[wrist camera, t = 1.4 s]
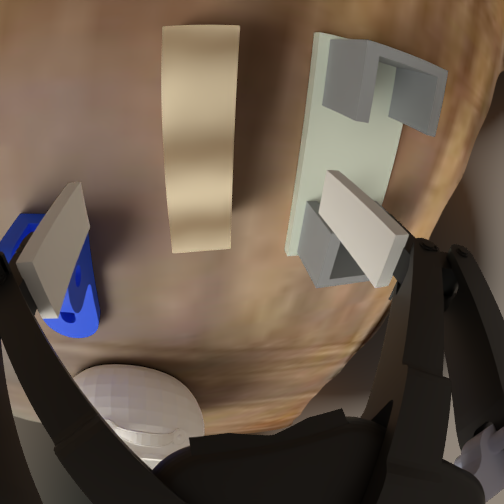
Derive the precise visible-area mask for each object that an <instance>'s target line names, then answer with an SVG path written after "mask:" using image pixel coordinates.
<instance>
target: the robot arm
mask: <svg viewBox="0 0 504 504" xmlns="http://www.w3.org/2000/svg"><path fill="white" fill-rule="evenodd" d="M318 213H319V214H320V216H321V217H322V218H323V219H324V221H325V222H326V223H327V224H328V226H329V227H330V228H331V230H332V231H333V232H334V233H335V235H336V236H337V237H338V239H339V240H340V241H341V242H342V244H343V245H344V246H345V248H346V249H347V250H348V252H349V253H350V254H351V256H352V257H353V258H354V260H355V261H356V262H357V264H358V265H359V267H360V268H361V269H362V271H363V272H364V273H365V275H366V276H367V278H368V279H369V280H370V282H371V283H372V285H373V286H374V287H375V288H379V287H384V286H388V285H389V283H390V281H391V278H392V276H393V275H394V277H395V278H396V279H397V282H396V285H395V287H394V289H393V291H392V293H391V295H390V297H389V299H388V300H391V299H392V304H391V309H390V314H389V320H388V325H387V330H386V334H385V339H384V343H383V347H382V352H381V356H380V360H379V364H378V368H377V371H376V375H375V379H374V383H373V386H372V389H371V393H370V396H369V400H368V403H367V406H366V408H365V411H364V413H363V414H362V416H361V418H358V417H345V414H344V412H343V410H342V408H341V409H338V410H335V411H331V412H328V413H324V414H320V415H317V416H313V417H309V418H307V419H305V420H303V421H301V422H299V423H297V424H295V425H294V426H291V427H290V428H287V429H285V430H283V431H281V432H279V433H277V434H275V435H269V436H268V435H266V436H265V435H247V434H234V433H225V434H218V435H209V436H199V437H189V443H190V446H187V447H184V448H182V449H179V450H177V451H175V452H173V453H172V454H170V455H168V456H167V457H165V458H164V459H163V460H162V461H160V462H159V463H158V464H157V465H156V466H155V467H154V468H153V470H152V469H151V468H150V467H149V466H148V465H147V464H146V463H144V462H143V461H142V460H141V459H140V458H139V457H138V456H137V455H136V454H135V453H134V452H133V451H132V450H131V449H130V448H129V447H128V446H127V445H126V443H125V442H124V441H123V440H122V439H121V438H120V437H119V436H118V435H117V434H116V432H115V431H114V430H113V429H112V428H111V427H110V426H109V424H108V423H107V422H106V421H105V420H104V419H103V417H102V416H101V415H100V414H99V412H98V411H97V410H96V409H95V408H94V406H93V405H92V404H91V402H90V401H89V400H88V399H87V397H86V396H85V395H84V393H83V392H82V391H81V389H80V388H79V386H78V385H77V384H76V382H75V381H74V379H73V378H72V377H71V375H70V374H69V372H68V371H67V369H66V368H65V366H64V365H63V363H62V362H61V360H60V359H59V357H58V356H57V354H56V352H55V351H54V349H53V348H52V346H51V344H50V343H49V341H48V339H47V338H46V336H45V334H44V332H43V331H42V329H41V327H40V325H39V324H38V322H37V320H36V318H35V316H34V315H35V312H36V310H37V309H38V311H39V313H40V315H41V317H42V318H43V319H53V318H58V317H59V314H60V310H61V307H62V304H63V300H64V297H65V294H66V291H67V288H68V285H69V282H70V279H71V276H72V273H73V270H74V268H75V265H76V262H77V259H78V257H79V254H80V251H81V249H82V246H83V244H84V241H85V239H86V236H87V234H88V232H89V229H90V224H89V220H88V215H87V211H86V206H85V201H84V196H83V191H82V186H81V181H79V182H72V183H68V184H67V185H66V186H65V188H64V189H63V190H62V192H61V193H60V194H59V196H58V197H57V199H56V200H55V201H54V203H53V204H52V206H51V207H50V208H49V210H48V211H47V213H46V214H45V216H44V217H43V219H42V220H41V222H40V223H39V225H38V226H37V228H36V230H35V231H34V232H30V233H29V234H28V235H27V236H26V237H25V238H24V239H23V240H22V242H21V244H20V245H19V248H17V250H16V252H15V254H14V255H13V257H12V259H11V260H10V262H9V264H8V262H7V259H6V257H5V255H4V253H3V252H1V251H0V504H43V503H42V501H41V498H40V495H39V493H38V491H37V488H36V486H35V484H34V481H33V478H32V476H31V473H30V471H29V468H28V465H27V462H26V459H25V456H24V453H23V450H22V447H21V444H20V441H19V437H18V434H17V430H16V426H15V422H14V418H13V414H12V410H11V405H10V400H9V395H8V390H7V385H6V379H5V372H4V365H3V357H2V348H1V339H2V341H3V344H4V347H5V349H6V352H7V354H8V356H9V359H10V361H11V364H12V366H13V368H14V370H15V373H16V375H17V377H18V379H19V381H20V383H21V385H22V387H23V389H24V391H25V393H26V395H27V397H28V399H29V401H30V403H31V405H32V407H33V408H34V410H35V412H36V414H37V416H38V417H39V419H40V421H41V422H42V424H43V425H44V427H45V429H46V431H47V432H48V434H49V435H50V437H51V439H52V440H53V442H54V444H55V447H54V451H55V454H56V455H57V457H58V459H59V460H60V462H61V463H62V465H63V466H64V468H65V469H66V470H67V472H68V473H69V474H70V476H71V477H72V478H73V480H74V481H75V482H76V484H77V485H78V486H79V487H80V489H81V490H82V491H83V492H84V494H85V495H86V496H87V497H88V498H89V500H90V501H91V502H92V503H93V504H485V503H486V502H487V501H488V500H490V499H491V498H492V497H494V496H495V495H496V494H498V493H499V492H500V491H501V490H502V489H504V320H503V317H502V315H501V313H500V310H499V308H498V305H497V303H496V301H495V299H494V297H493V295H492V292H491V290H490V288H489V286H488V284H487V282H486V280H485V278H484V276H483V274H482V272H481V270H480V268H479V266H478V264H477V262H476V261H475V259H474V257H473V255H472V254H471V253H470V251H468V250H467V248H465V247H464V246H460V245H457V244H453V245H451V247H450V250H449V252H448V253H446V252H440V251H439V248H438V247H437V246H436V245H435V244H434V243H433V242H431V241H429V240H427V239H424V238H415V237H414V236H413V235H412V234H411V233H410V232H409V231H408V230H407V229H406V228H405V227H404V226H402V224H401V223H400V222H398V221H397V220H396V219H395V218H394V217H393V216H392V215H391V214H389V213H388V212H386V211H384V210H383V209H382V208H381V207H380V206H379V205H378V204H377V203H376V202H375V201H373V200H372V199H371V198H370V197H369V196H368V195H367V194H366V193H364V192H363V191H362V190H361V189H360V188H359V187H358V186H356V185H355V184H354V183H353V182H352V181H351V180H349V179H348V178H347V177H346V176H345V175H343V174H342V173H341V172H340V171H339V170H326V176H325V181H324V187H323V192H322V197H321V202H320V207H319V212H318ZM457 289H458V291H457ZM456 291H457V294H456V293H455V292H456ZM444 352H445V357H446V362H447V367H448V373H449V378H446V377H443V357H444ZM451 392H452V399H453V407H454V415H455V424H456V432H457V437H458V441H459V446H460V449H461V455H460V456H459V457H457V458H456V460H455V463H454V464H452V463H449V462H448V461H446V460H444V459H442V458H443V453H444V447H445V441H446V434H447V428H448V420H449V411H450V401H451Z"/></svg>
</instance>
